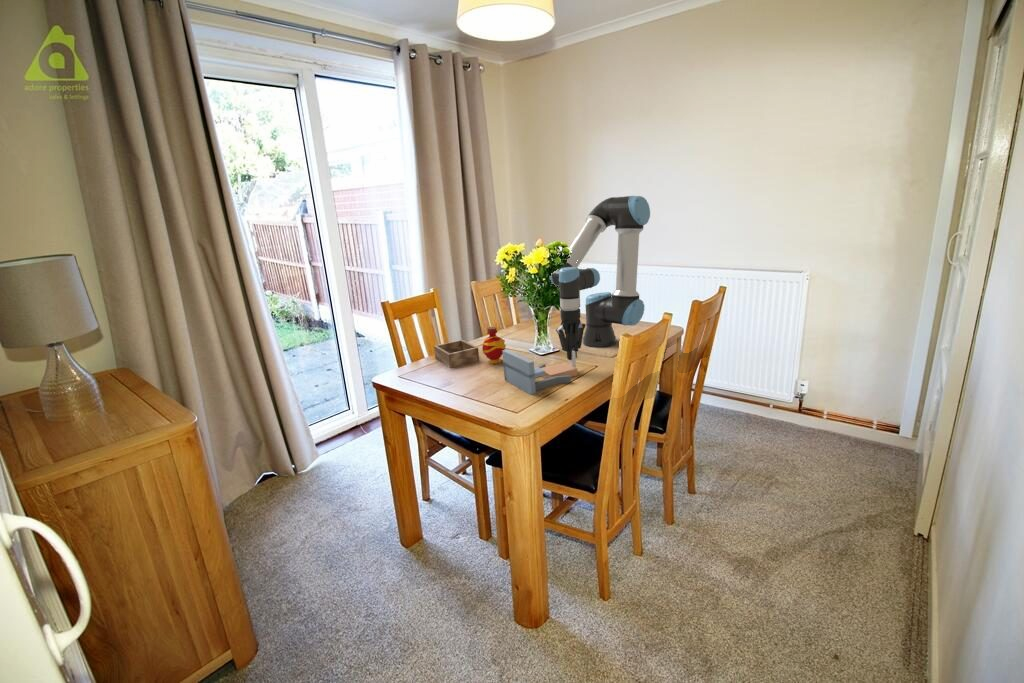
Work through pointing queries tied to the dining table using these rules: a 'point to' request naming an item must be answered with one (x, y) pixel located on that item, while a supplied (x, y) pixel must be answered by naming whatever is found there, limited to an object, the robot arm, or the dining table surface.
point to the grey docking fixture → (527, 373)
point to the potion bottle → (493, 346)
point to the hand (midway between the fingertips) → (572, 366)
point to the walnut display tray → (456, 353)
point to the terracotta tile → (559, 370)
